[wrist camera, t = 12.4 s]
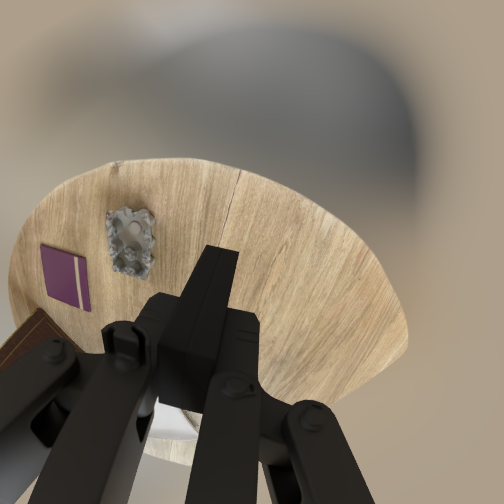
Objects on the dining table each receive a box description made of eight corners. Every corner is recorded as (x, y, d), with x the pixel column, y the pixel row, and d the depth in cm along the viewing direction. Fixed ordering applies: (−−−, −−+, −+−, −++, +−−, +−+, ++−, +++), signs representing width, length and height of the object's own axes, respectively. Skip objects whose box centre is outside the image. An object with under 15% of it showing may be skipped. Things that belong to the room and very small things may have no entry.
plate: (105, 384, 58) (100, 394, 54) (174, 386, 55) (170, 397, 52) (143, 428, 65) (140, 437, 62) (207, 431, 63) (205, 441, 59)
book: (32, 317, 51) (-23, 380, 28) (40, 302, 48) (-23, 371, 25) (92, 377, 57) (53, 450, 34) (105, 368, 55) (63, 449, 32)
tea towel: (41, 244, 42) (39, 245, 42) (86, 257, 43) (83, 259, 42) (49, 294, 47) (47, 295, 46) (91, 310, 48) (89, 312, 47)
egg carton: (117, 201, 39) (104, 208, 35) (160, 210, 39) (150, 217, 35) (116, 262, 43) (104, 273, 39) (155, 272, 43) (146, 285, 39)
